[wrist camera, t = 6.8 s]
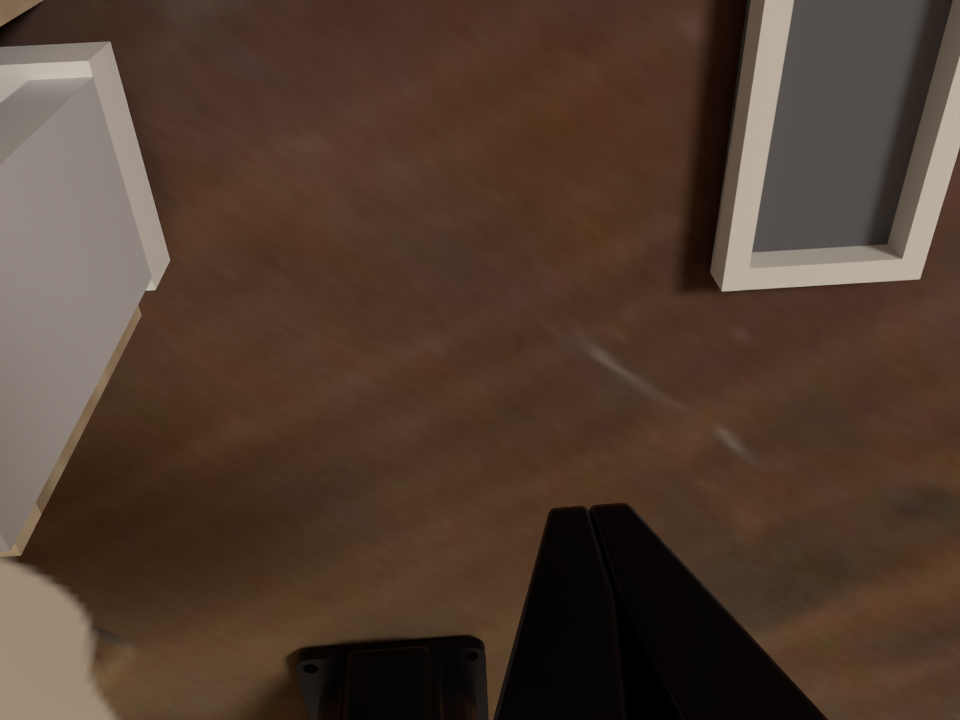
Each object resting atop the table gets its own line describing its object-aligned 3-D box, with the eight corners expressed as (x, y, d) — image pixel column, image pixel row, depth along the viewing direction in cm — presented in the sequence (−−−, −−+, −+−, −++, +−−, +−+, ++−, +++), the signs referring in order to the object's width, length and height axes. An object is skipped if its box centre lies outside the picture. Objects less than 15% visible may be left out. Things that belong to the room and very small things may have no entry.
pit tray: (901, 260, 22) (919, 278, 21) (709, 271, 22) (721, 291, 21) (998, -88, 17) (1027, -80, 17) (757, -76, 17) (775, -68, 16)
